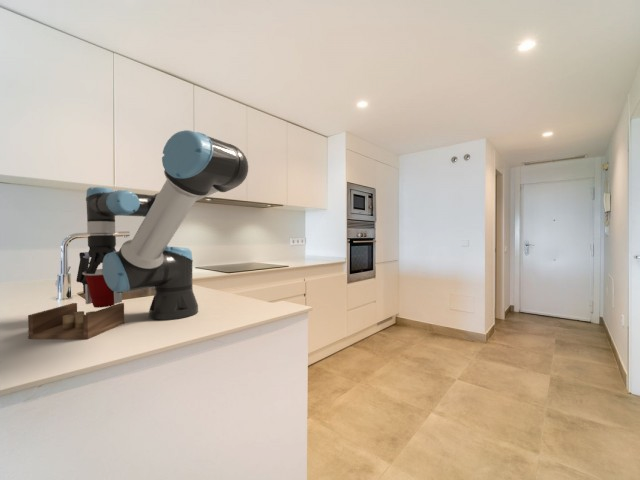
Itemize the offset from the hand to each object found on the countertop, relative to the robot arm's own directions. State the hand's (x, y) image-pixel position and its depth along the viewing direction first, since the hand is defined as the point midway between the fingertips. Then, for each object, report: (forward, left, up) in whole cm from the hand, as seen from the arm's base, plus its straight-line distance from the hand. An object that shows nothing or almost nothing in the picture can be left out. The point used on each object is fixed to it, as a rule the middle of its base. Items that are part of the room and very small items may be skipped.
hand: (104, 302), depth 100 cm
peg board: (-3, +14, -5) cm, 15 cm away
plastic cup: (0, 0, -1) cm, 1 cm away
